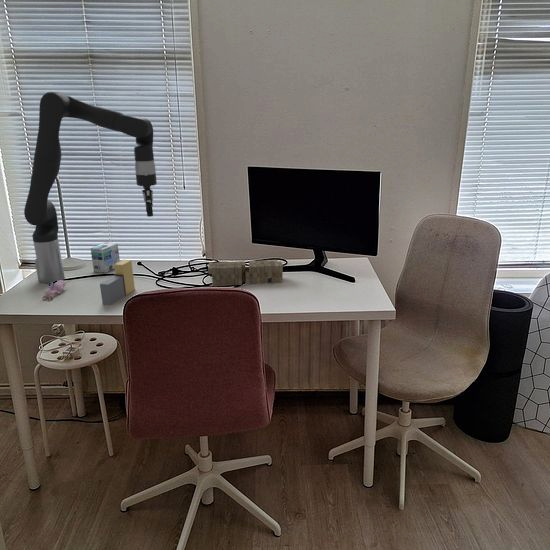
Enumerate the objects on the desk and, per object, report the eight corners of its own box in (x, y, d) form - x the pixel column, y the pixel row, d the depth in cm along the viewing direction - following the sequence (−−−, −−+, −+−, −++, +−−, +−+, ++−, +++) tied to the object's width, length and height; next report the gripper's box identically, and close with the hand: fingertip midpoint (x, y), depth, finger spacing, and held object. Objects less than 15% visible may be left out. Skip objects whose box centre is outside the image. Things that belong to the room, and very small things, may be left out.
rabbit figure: (55, 304, 183) (73, 284, 196) (51, 290, 181) (70, 271, 194) (39, 304, 184) (58, 284, 197) (35, 290, 181) (55, 271, 194)
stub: (127, 288, 193) (123, 259, 189) (134, 289, 192) (131, 260, 188) (118, 294, 187) (114, 264, 184) (126, 295, 186) (122, 264, 183)
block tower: (280, 279, 204) (209, 280, 202) (280, 259, 202) (209, 260, 199) (282, 285, 197) (208, 286, 194) (282, 265, 194) (208, 266, 192)
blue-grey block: (117, 295, 187) (114, 274, 185) (126, 295, 186) (123, 274, 184) (102, 304, 179) (99, 282, 176) (111, 305, 178) (108, 283, 175)
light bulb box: (105, 273, 212) (102, 249, 208) (93, 272, 214) (89, 248, 211) (121, 266, 221) (118, 242, 218) (108, 264, 224) (105, 241, 220)
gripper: (135, 170, 195) (139, 211, 200) (136, 175, 182) (140, 218, 188) (154, 169, 197) (158, 210, 202) (156, 174, 184) (160, 217, 189)
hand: (149, 214), depth 195 cm, fingers open, 8 cm apart
